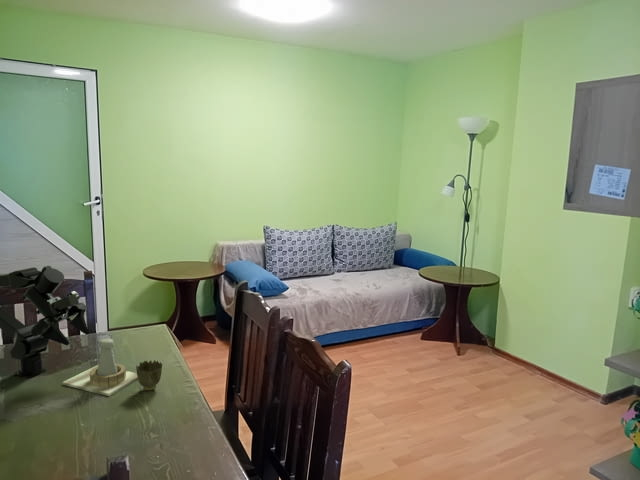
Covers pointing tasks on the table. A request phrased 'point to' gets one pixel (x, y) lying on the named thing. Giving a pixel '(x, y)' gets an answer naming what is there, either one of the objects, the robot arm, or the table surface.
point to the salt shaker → (106, 358)
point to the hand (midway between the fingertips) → (78, 338)
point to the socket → (102, 380)
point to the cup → (149, 374)
